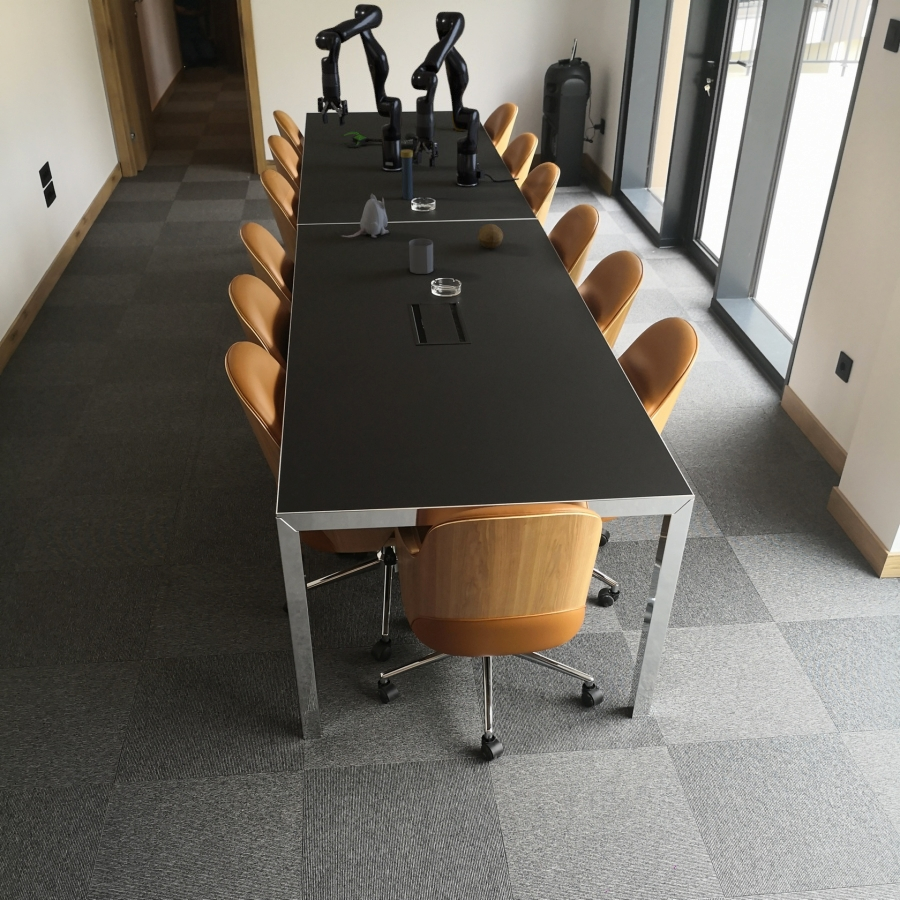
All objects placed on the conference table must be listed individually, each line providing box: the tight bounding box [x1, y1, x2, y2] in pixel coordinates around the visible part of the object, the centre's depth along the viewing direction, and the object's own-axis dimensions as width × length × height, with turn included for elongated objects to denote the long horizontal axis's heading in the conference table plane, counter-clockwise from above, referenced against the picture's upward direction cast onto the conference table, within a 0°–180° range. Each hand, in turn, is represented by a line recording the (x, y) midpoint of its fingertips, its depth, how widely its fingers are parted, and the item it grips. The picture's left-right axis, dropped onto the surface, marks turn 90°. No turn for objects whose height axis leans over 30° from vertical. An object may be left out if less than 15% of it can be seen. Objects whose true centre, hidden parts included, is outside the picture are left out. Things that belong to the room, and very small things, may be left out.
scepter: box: [342, 131, 382, 148], centre depth 461 cm, size 6×13×30 cm
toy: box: [341, 193, 390, 239], centre depth 333 cm, size 9×24×15 cm, turn 137°
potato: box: [477, 223, 504, 249], centre depth 326 cm, size 10×14×8 cm
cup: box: [408, 237, 434, 275], centre depth 305 cm, size 8×8×10 cm
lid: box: [401, 149, 414, 158], centre depth 371 cm, size 5×5×2 cm
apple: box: [451, 106, 468, 132], centre depth 487 cm, size 11×11×13 cm
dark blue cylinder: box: [401, 157, 414, 201], centre depth 376 cm, size 4×4×20 cm
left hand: (333, 124), depth 373 cm, fingers open, 8 cm apart
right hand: (425, 165), depth 359 cm, fingers open, 8 cm apart
